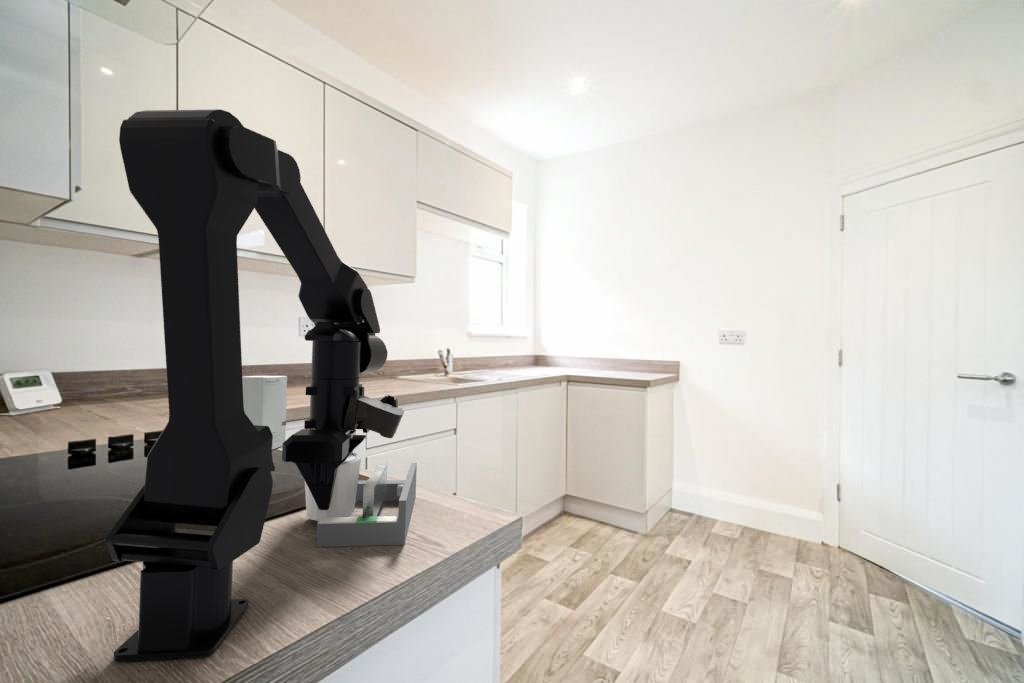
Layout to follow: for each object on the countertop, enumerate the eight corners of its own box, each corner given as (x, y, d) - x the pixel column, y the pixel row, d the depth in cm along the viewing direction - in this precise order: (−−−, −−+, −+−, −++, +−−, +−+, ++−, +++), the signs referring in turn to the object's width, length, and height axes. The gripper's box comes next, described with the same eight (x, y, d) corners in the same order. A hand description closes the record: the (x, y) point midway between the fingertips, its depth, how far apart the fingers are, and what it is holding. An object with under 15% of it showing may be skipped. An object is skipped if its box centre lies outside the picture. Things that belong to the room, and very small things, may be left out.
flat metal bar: (369, 533, 50) (370, 494, 50) (358, 533, 50) (359, 494, 50) (386, 493, 64) (387, 461, 64) (377, 493, 64) (378, 461, 64)
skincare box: (260, 455, 87) (263, 377, 87) (231, 453, 87) (234, 376, 87) (286, 445, 95) (289, 374, 95) (259, 443, 96) (262, 373, 96)
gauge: (404, 544, 51) (406, 500, 51) (316, 546, 50) (318, 501, 50) (415, 497, 66) (416, 463, 66) (348, 497, 65) (349, 463, 65)
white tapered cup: (339, 526, 53) (342, 466, 53) (288, 519, 55) (290, 461, 55) (369, 506, 60) (371, 453, 60) (322, 500, 61) (325, 449, 61)
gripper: (390, 386, 49) (385, 529, 49) (407, 373, 68) (403, 478, 68) (282, 383, 48) (277, 531, 48) (330, 372, 66) (326, 478, 66)
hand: (331, 500), depth 57 cm, fingers closed on white tapered cup, 6 cm apart
